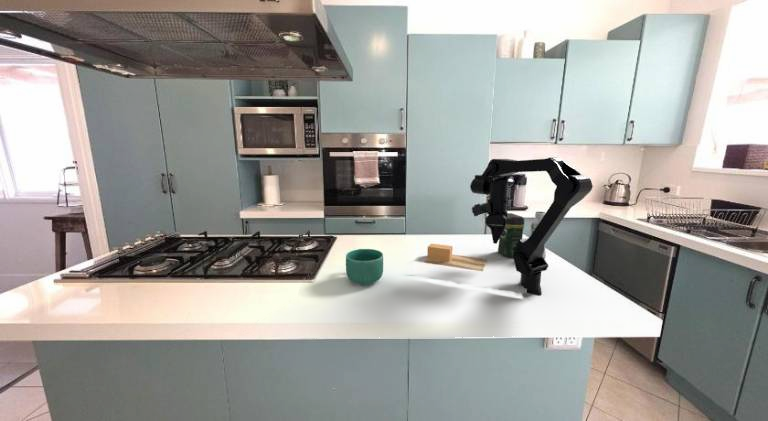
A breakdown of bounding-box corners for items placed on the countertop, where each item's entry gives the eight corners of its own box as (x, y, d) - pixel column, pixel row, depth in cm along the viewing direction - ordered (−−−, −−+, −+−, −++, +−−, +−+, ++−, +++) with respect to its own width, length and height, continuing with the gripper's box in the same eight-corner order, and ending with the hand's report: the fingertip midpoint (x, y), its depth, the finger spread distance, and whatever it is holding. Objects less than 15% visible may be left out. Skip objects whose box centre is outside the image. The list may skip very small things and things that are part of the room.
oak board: (482, 275, 108) (482, 271, 108) (423, 266, 117) (423, 262, 117) (486, 262, 121) (486, 258, 121) (432, 255, 130) (432, 251, 129)
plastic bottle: (523, 259, 124) (527, 211, 121) (534, 257, 127) (539, 210, 123) (537, 264, 118) (541, 214, 115) (548, 262, 121) (554, 213, 118)
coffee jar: (524, 261, 122) (528, 216, 119) (506, 262, 121) (509, 216, 118) (511, 253, 132) (515, 211, 129) (494, 254, 131) (497, 212, 128)
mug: (385, 288, 98) (385, 259, 96) (346, 290, 96) (345, 261, 95) (379, 269, 114) (379, 244, 112) (345, 270, 112) (345, 246, 111)
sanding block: (449, 261, 117) (450, 249, 116) (427, 258, 121) (427, 246, 120) (452, 258, 122) (452, 246, 121) (430, 255, 125) (430, 243, 124)
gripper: (476, 192, 116) (475, 232, 118) (470, 198, 99) (468, 244, 101) (508, 193, 111) (506, 234, 114) (507, 199, 94) (504, 248, 97)
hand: (495, 240), depth 107 cm, fingers open, 9 cm apart
